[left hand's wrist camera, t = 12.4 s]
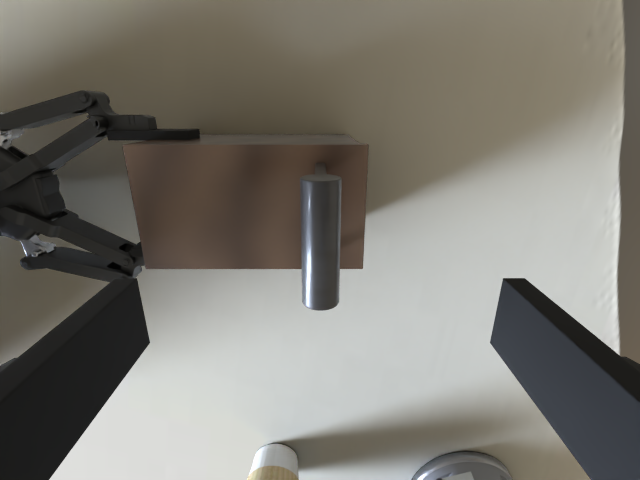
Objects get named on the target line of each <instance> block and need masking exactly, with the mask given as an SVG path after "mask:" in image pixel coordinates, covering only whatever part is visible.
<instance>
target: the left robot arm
mask: <svg viewBox="0 0 640 480" xmlns="http://www.w3.org/2000/svg"><path fill="white" fill-rule="evenodd" d="M149 343H150V341H149V336H148V331H147V326H146V321H145V316H144V311H143V306H142V302H141V297H140V292H139V287H138V282H137V278H115V279H114V280H113V281H112V282H110V283H109V284H108V285H107V286H105V287H104V288H103V289H102V290H101V291H99V292H98V293H97V294H96V295H94V296H93V297H92V298H91V299H89V300H88V301H87V302H86V303H85V304H83V305H82V306H81V307H80V308H78V309H77V310H76V311H75V312H74V313H72V314H71V315H70V316H69V317H67V318H66V319H65V320H64V321H62V322H61V323H60V324H59V325H58V326H56V327H55V328H54V329H53V330H51V331H50V332H49V333H48V334H46V335H45V336H44V337H43V338H42V339H40V340H39V341H38V342H37V343H35V344H34V345H33V346H32V347H31V348H29V349H28V350H27V351H26V352H24V353H23V354H22V355H21V356H19V357H18V358H14V359H12V360H10V361H8V362H6V363H5V364H3V365H1V366H0V480H49V479H50V478H51V476H52V475H53V473H54V472H55V471H56V469H57V468H58V467H59V465H60V464H61V463H62V461H63V460H64V459H65V457H66V456H67V454H68V453H69V452H70V450H71V449H72V448H73V446H74V445H75V444H76V442H77V441H78V440H79V438H80V437H81V435H82V434H83V433H84V431H85V430H86V429H87V427H88V426H89V425H90V423H91V422H92V421H93V419H94V418H95V416H96V415H97V414H98V412H99V411H100V410H101V408H102V407H103V406H104V404H105V403H106V402H107V400H108V399H109V397H110V396H111V395H112V393H113V392H114V391H115V389H116V388H117V387H118V385H119V384H120V383H121V381H122V380H123V378H124V377H125V376H126V374H127V373H128V372H129V370H130V369H131V368H132V366H133V365H134V364H135V362H136V361H137V359H138V358H139V357H140V355H141V354H142V353H143V351H144V350H145V349H146V347H147V346H148V345H149ZM490 343H491V345H492V346H493V347H494V349H495V350H496V351H497V353H498V354H499V355H500V357H501V358H502V359H503V361H504V362H505V364H506V365H507V366H508V368H509V369H510V370H511V372H512V373H513V374H514V376H515V377H516V378H517V380H518V381H519V383H520V384H521V385H522V387H523V388H524V389H525V391H526V392H527V393H528V395H529V396H530V397H531V399H532V400H533V402H534V403H535V404H536V406H537V407H538V408H539V410H540V411H541V412H542V414H543V415H544V416H545V418H546V419H547V421H548V422H549V423H550V425H551V426H552V427H553V429H554V430H555V431H556V433H557V434H558V435H559V437H560V438H561V440H562V441H563V442H564V444H565V445H566V446H567V448H568V449H569V450H570V452H571V453H572V454H573V456H574V457H575V459H576V460H577V461H578V463H579V464H580V465H581V467H582V468H583V469H584V471H585V472H586V473H587V475H588V476H589V478H590V479H591V480H640V364H638V363H636V362H635V361H633V360H631V359H629V358H627V357H621V356H619V355H618V354H617V353H616V352H614V351H613V350H612V349H611V348H609V347H608V346H607V345H606V344H605V343H603V342H602V341H601V340H600V339H598V338H597V337H596V336H595V335H594V334H592V333H591V332H590V331H589V330H587V329H586V328H585V327H584V326H582V325H581V324H580V323H579V322H578V321H576V320H575V319H574V318H573V317H571V316H570V315H569V314H568V313H566V312H565V311H564V310H563V309H562V308H560V307H559V306H558V305H557V304H555V303H554V302H553V301H552V300H551V299H549V298H548V297H547V296H546V295H544V294H543V293H542V292H541V291H539V290H538V289H537V288H536V287H535V286H533V285H532V284H531V283H530V282H528V281H527V280H526V279H525V278H503V282H502V287H501V292H500V297H499V302H498V306H497V311H496V316H495V321H494V326H493V331H492V336H491V341H490ZM412 480H512V478H511V476H510V474H509V472H508V470H507V469H506V467H505V466H504V465H503V464H502V463H501V462H500V461H498V460H497V459H495V458H493V457H491V456H489V455H486V454H482V453H477V452H456V453H451V454H447V455H443V456H440V457H438V458H436V459H434V460H432V461H430V462H428V463H427V464H425V465H424V466H423V467H421V468H420V469H419V470H418V471H417V472H416V474H415V475H414V477H413V478H412Z"/></svg>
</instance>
